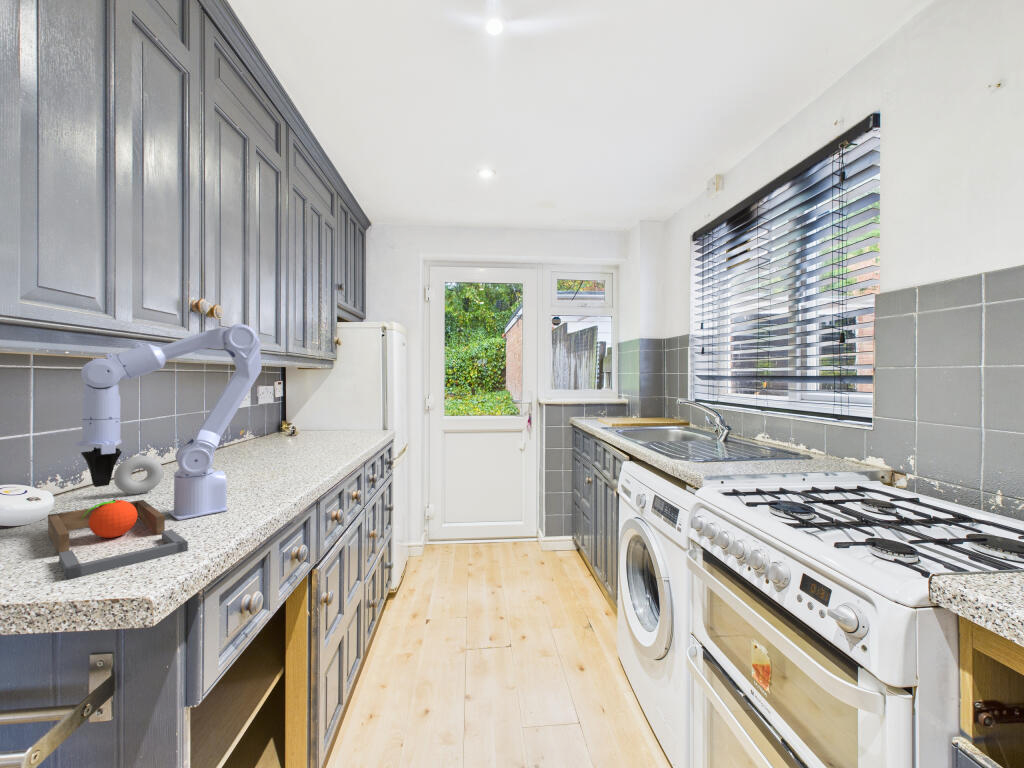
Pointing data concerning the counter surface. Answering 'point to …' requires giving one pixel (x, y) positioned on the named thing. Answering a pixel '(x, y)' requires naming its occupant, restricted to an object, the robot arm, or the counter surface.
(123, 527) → the clementine
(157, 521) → the brown wooden frame
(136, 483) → the donut
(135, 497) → the counter surface
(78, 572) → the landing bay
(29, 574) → the counter surface
